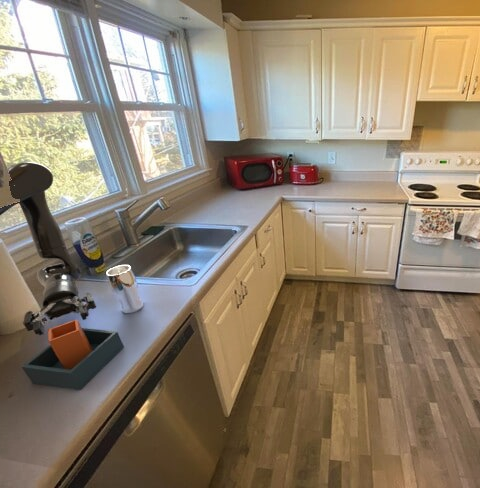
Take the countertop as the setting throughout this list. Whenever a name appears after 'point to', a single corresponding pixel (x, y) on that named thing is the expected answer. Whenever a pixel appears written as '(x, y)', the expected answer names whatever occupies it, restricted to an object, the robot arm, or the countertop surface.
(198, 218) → the countertop surface
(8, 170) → the robot arm
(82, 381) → the big bin
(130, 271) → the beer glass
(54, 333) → the small bin
